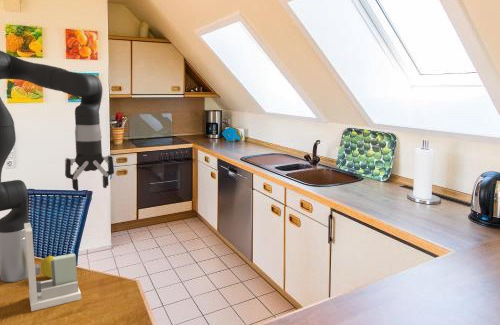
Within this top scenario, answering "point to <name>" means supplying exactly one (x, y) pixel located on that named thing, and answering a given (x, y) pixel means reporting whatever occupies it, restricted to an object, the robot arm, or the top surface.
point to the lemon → (47, 266)
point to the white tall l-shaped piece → (45, 282)
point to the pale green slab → (64, 269)
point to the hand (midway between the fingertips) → (90, 189)
